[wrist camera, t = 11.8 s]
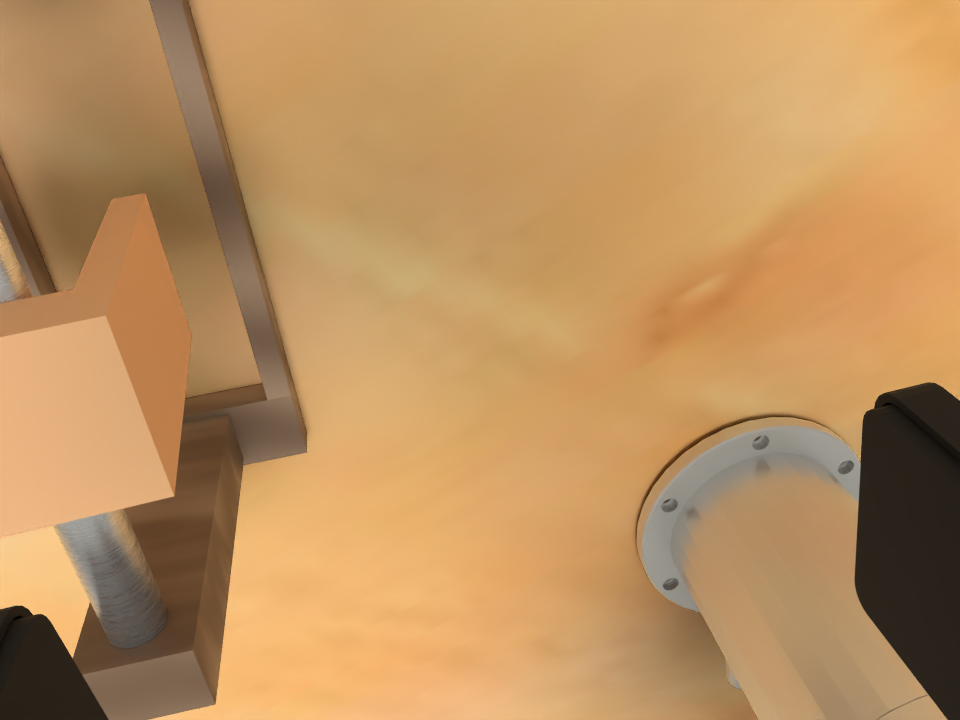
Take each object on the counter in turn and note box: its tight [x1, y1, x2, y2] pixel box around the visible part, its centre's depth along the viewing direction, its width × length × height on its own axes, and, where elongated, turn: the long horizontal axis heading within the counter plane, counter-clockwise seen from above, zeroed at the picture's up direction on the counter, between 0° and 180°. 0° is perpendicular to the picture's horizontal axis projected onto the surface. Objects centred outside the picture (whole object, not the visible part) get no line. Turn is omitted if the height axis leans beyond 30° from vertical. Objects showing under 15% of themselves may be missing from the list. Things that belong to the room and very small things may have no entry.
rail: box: [0, 220, 169, 649], centre depth 22 cm, size 21×2×2 cm, turn 7°
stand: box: [0, 0, 307, 720], centre depth 27 cm, size 23×9×14 cm, turn 7°
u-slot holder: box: [0, 193, 192, 538], centre depth 23 cm, size 5×6×9 cm
